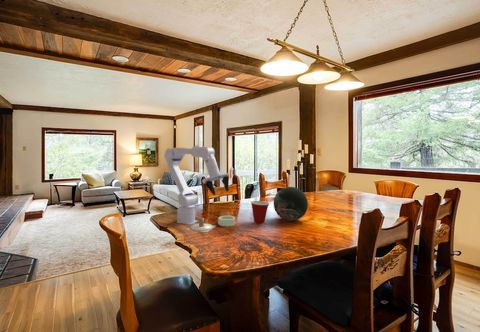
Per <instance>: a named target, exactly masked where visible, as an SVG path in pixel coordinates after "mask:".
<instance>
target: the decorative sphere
mask: <svg viewBox="0 0 480 332" xmlns="http://www.w3.org/2000/svg"><path fill="white" fill-rule="evenodd" d="M273 208H274V211H275V213H276V215H277V216H278V217H279V218H281V219H283V220H284V221H289V222H295V221H298V220H300V219H302V218H303V217H304V216H305V214H306V213H307V211H308V208H309V201H308V197H307V195H306V194H305V192H303V191H302V190H301V189H300V188H297V187H295V186H286V187H283V188H281V189H280V190H278V192H276V194H275V196H274V198H273Z"/></svg>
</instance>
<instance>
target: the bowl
mask: <svg viewBox="0 0 480 332" xmlns="http://www.w3.org/2000/svg"><path fill="white" fill-rule="evenodd" d="M217 219H218V223H217V224H218V225H219V226H221V227H233V226H235V225H236V217H235V216H233V215H221V216H219V217H218V218H217Z"/></svg>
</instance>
